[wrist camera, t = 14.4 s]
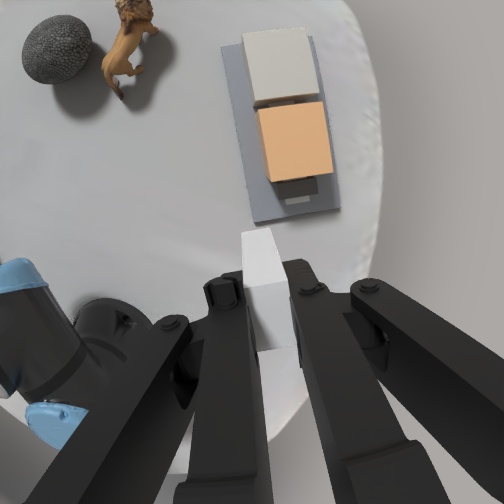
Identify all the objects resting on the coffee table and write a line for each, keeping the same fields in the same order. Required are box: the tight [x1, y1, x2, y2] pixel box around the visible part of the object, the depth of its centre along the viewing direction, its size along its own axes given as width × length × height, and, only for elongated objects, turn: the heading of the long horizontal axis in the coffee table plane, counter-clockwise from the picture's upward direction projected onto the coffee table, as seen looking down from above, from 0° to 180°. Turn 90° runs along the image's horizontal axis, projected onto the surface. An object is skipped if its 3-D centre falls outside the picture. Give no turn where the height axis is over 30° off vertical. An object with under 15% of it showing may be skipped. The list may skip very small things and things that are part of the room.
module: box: [255, 101, 333, 182], centre depth 36 cm, size 7×8×7 cm
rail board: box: [221, 27, 341, 223], centre depth 36 cm, size 12×24×8 cm, turn 10°
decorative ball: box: [22, 15, 92, 84], centre depth 29 cm, size 10×10×10 cm
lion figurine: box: [101, 0, 158, 101], centre depth 31 cm, size 15×5×9 cm, turn 168°
